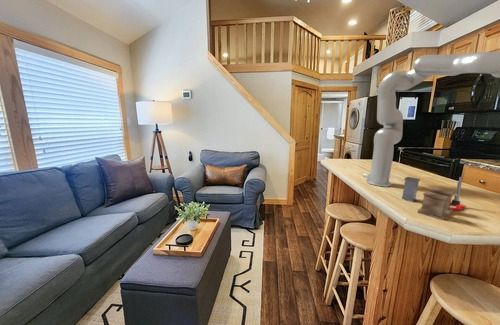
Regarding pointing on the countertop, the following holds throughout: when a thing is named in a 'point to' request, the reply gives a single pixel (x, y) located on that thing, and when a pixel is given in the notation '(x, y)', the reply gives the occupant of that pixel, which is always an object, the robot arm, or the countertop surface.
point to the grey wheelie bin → (410, 188)
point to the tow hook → (457, 198)
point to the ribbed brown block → (436, 203)
